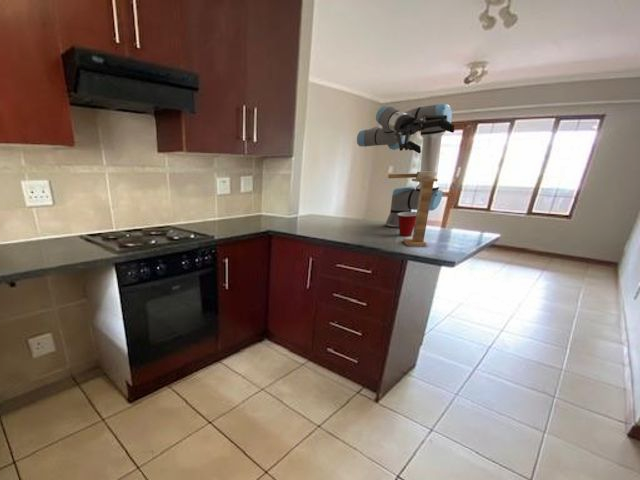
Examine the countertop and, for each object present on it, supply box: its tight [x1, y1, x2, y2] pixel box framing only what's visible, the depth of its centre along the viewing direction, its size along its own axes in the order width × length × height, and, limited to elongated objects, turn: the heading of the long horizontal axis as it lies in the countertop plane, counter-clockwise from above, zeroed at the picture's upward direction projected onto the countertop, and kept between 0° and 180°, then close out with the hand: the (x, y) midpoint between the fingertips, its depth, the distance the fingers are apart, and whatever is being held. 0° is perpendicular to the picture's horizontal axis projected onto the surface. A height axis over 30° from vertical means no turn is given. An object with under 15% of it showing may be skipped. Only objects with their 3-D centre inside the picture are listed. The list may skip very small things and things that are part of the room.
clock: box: [387, 171, 438, 179], centre depth 152 cm, size 8×20×3 cm, turn 78°
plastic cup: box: [397, 211, 417, 237], centre depth 180 cm, size 11×11×12 cm
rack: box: [402, 178, 439, 247], centre depth 157 cm, size 10×8×30 cm
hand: (436, 139), depth 127 cm, fingers open, 13 cm apart
